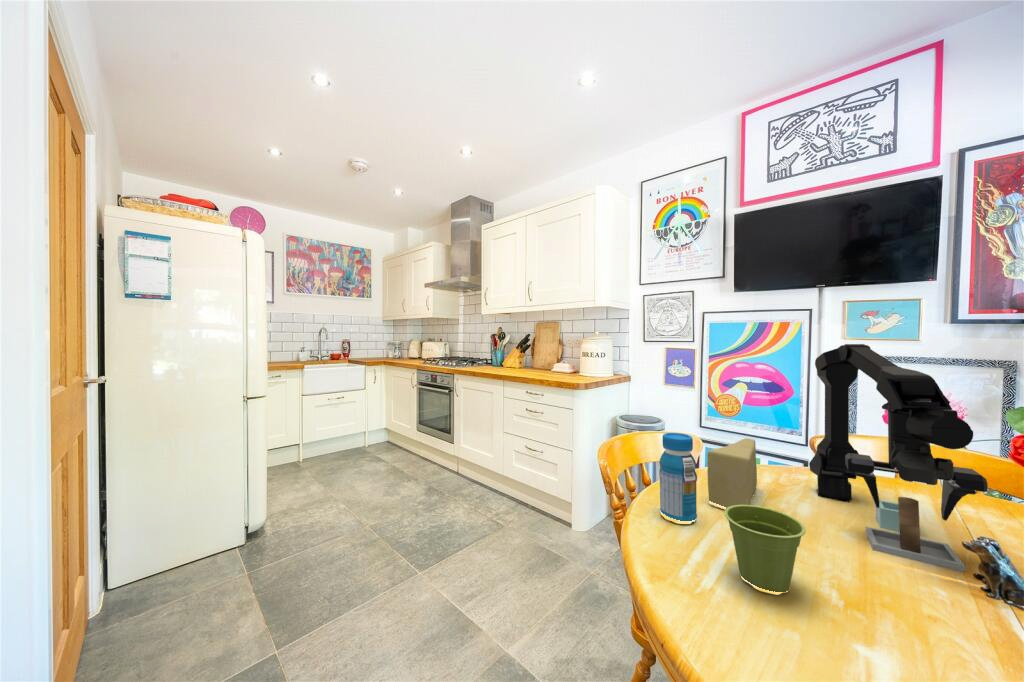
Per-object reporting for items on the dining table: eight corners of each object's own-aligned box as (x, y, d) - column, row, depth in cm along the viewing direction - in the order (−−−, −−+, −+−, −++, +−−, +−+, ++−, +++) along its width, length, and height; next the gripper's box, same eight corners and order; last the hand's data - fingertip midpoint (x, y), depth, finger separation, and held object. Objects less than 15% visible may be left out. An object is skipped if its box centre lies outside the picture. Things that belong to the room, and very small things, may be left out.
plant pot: (712, 562, 71) (711, 504, 71) (774, 563, 70) (774, 504, 70) (750, 606, 59) (749, 535, 59) (825, 607, 58) (824, 536, 58)
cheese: (734, 484, 110) (733, 434, 111) (773, 493, 103) (772, 440, 103) (706, 505, 96) (706, 448, 96) (749, 518, 88) (748, 456, 89)
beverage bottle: (659, 522, 87) (658, 438, 87) (659, 507, 94) (658, 430, 95) (699, 529, 83) (698, 441, 84) (695, 513, 91) (695, 433, 91)
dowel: (902, 550, 73) (899, 500, 74) (898, 544, 75) (896, 495, 76) (922, 555, 72) (920, 503, 72) (918, 549, 74) (916, 499, 74)
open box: (880, 530, 82) (880, 508, 82) (875, 520, 87) (875, 499, 87) (919, 538, 79) (919, 515, 79) (912, 527, 84) (912, 505, 84)
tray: (872, 552, 74) (872, 543, 74) (865, 534, 81) (865, 526, 81) (965, 575, 66) (964, 565, 66) (947, 553, 73) (947, 544, 73)
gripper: (850, 436, 73) (852, 515, 73) (1000, 453, 62) (1002, 546, 62) (844, 426, 82) (845, 496, 82) (974, 439, 71) (975, 520, 70)
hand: (909, 513), depth 74 cm, fingers open, 9 cm apart
